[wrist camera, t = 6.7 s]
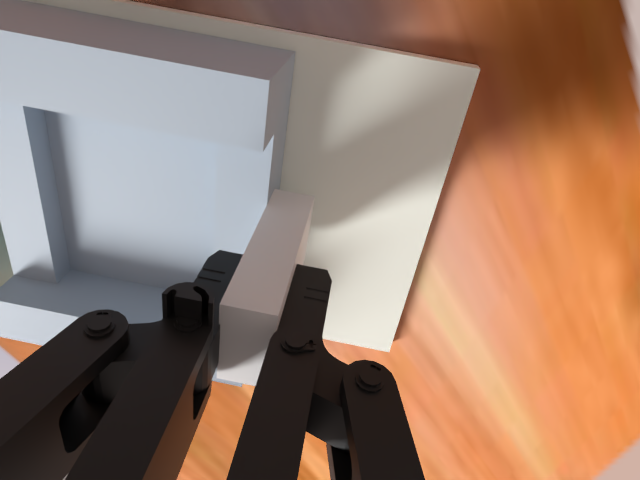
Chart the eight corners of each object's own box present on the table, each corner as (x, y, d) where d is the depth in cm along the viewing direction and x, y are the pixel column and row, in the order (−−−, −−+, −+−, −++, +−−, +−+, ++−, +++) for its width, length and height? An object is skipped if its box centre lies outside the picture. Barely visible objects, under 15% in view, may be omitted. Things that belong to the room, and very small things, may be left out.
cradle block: (4, -4, 16) (-99, 10, 13) (295, 51, 16) (269, 80, 12) (57, 277, 22) (-2, 336, 19) (264, 319, 22) (241, 386, 19)
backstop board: (-97, -42, 16) (-204, -39, 13) (477, 65, 16) (497, 92, 13) (-12, 261, 23) (-70, 307, 20) (389, 343, 23) (388, 402, 20)
